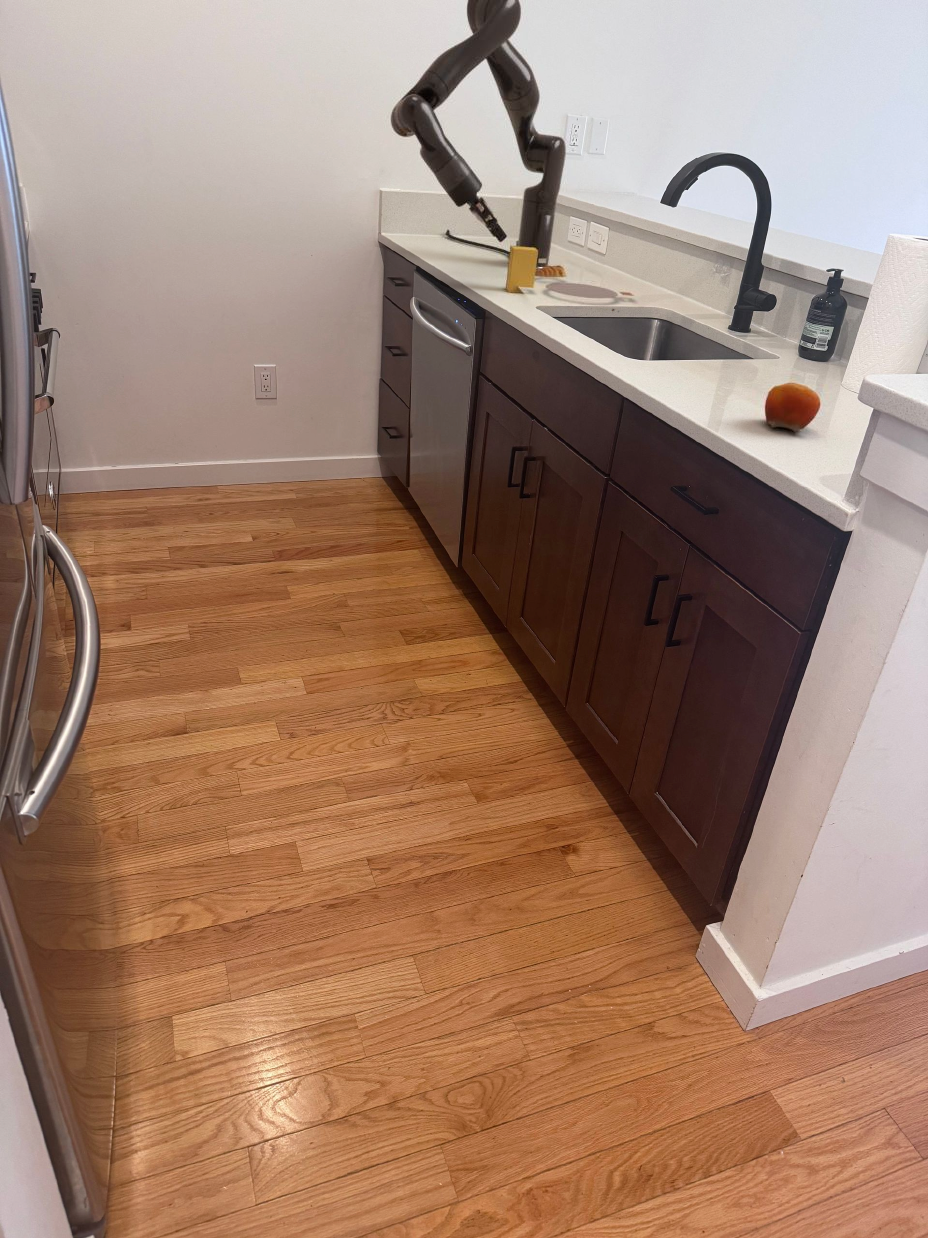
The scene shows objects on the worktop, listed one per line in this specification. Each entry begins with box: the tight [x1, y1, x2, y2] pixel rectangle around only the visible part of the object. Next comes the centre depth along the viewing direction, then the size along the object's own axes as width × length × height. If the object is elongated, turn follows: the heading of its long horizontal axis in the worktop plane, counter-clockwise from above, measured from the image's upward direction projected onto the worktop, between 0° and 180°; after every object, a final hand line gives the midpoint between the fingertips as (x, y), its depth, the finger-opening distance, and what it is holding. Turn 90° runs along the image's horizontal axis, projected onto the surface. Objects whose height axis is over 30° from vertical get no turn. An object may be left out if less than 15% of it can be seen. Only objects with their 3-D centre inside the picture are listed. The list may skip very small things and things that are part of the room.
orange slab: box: [619, 291, 635, 297], centre depth 220 cm, size 4×3×2 cm
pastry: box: [535, 264, 567, 278], centre depth 233 cm, size 9×7×4 cm
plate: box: [545, 282, 619, 299], centre depth 218 cm, size 18×18×2 cm
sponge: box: [505, 245, 538, 294], centre depth 214 cm, size 4×6×10 cm
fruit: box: [764, 382, 821, 436], centre depth 136 cm, size 8×8×8 cm
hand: (500, 236), depth 210 cm, fingers open, 8 cm apart
